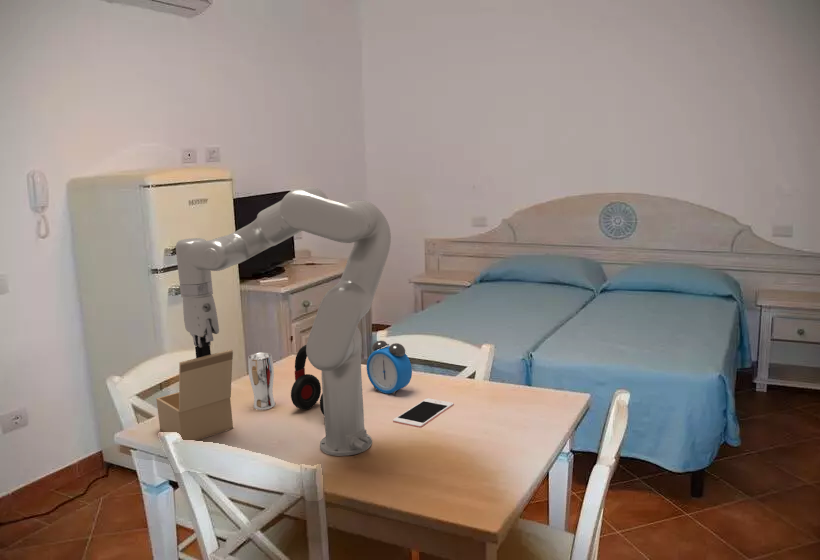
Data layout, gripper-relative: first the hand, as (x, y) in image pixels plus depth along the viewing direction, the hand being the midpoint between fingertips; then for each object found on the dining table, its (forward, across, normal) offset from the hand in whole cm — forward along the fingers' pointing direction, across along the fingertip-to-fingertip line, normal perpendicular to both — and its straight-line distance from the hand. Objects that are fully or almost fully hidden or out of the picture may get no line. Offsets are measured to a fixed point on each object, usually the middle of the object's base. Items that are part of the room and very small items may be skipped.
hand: (204, 361), depth 173 cm
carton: (+21, +9, 0) cm, 23 cm away
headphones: (+21, -7, -29) cm, 36 cm away
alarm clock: (+21, -8, -53) cm, 58 cm away
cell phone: (+21, -28, -48) cm, 59 cm away
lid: (+5, 0, 0) cm, 5 cm away
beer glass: (+21, +10, -21) cm, 31 cm away
